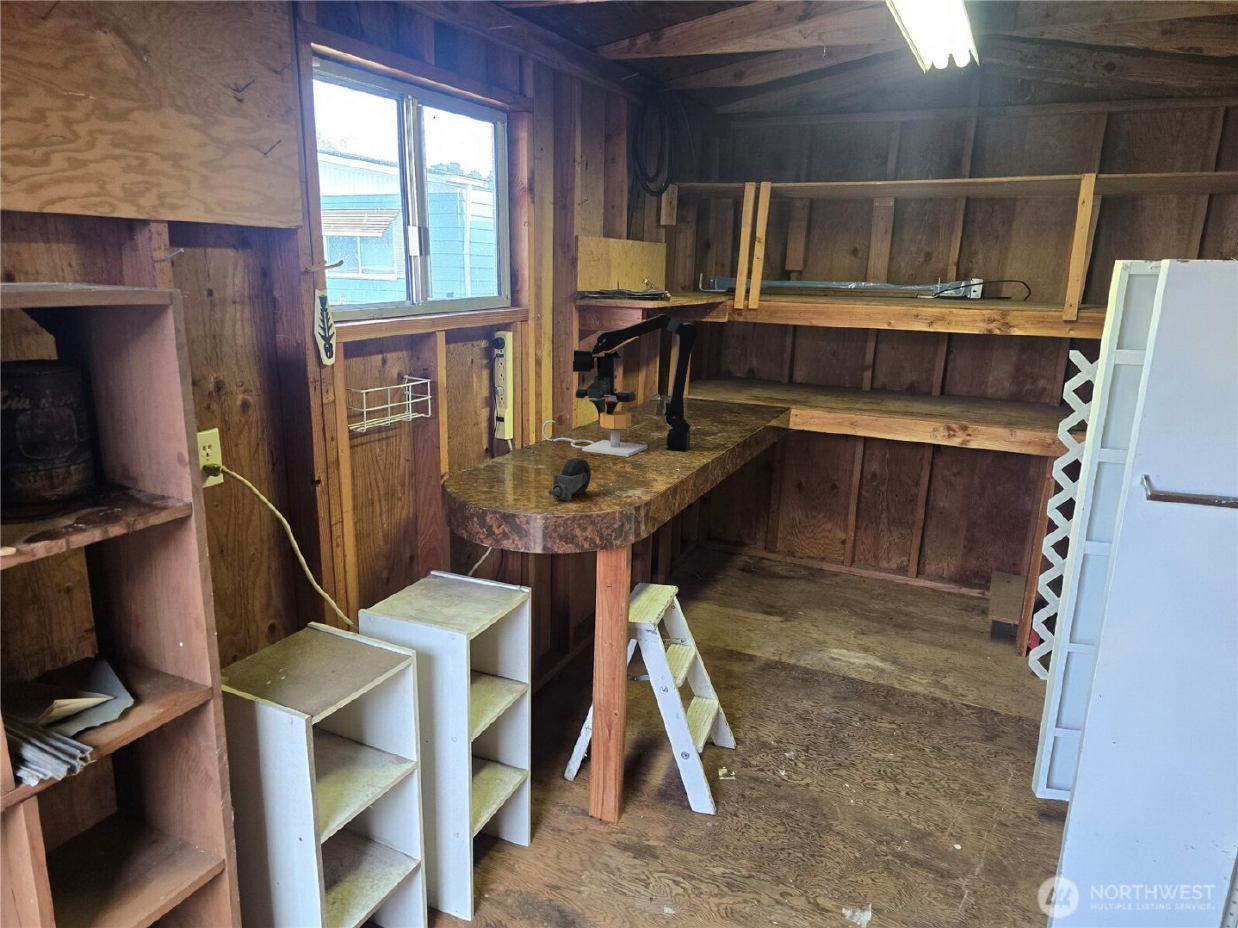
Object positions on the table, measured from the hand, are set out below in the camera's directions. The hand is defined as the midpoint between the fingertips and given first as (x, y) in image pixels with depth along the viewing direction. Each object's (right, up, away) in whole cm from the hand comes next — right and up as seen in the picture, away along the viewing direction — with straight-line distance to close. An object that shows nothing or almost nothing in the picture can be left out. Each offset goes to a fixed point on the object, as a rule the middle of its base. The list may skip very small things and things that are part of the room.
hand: (605, 421), depth 244 cm
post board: (+3, -9, 0) cm, 9 cm away
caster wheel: (-8, -22, -54) cm, 58 cm away
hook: (-13, -7, +10) cm, 18 cm away
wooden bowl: (+3, -1, -1) cm, 4 cm away
